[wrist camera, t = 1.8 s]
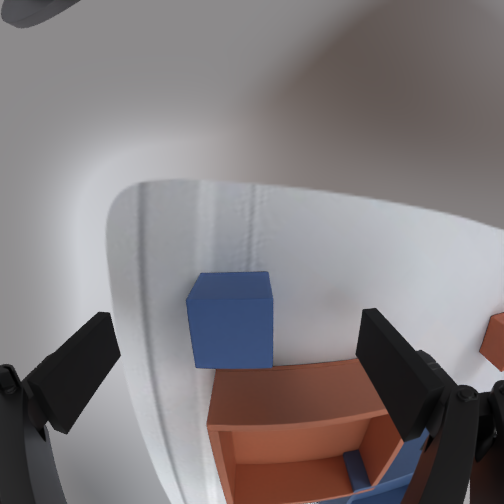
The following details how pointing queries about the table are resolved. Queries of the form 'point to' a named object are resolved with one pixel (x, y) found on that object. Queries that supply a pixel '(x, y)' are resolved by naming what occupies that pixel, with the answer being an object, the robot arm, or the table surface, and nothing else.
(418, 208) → the table surface
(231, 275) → the blue block
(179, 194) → the table surface
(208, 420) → the terracotta bin
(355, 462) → the blue bin
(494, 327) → the terracotta block
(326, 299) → the table surface
